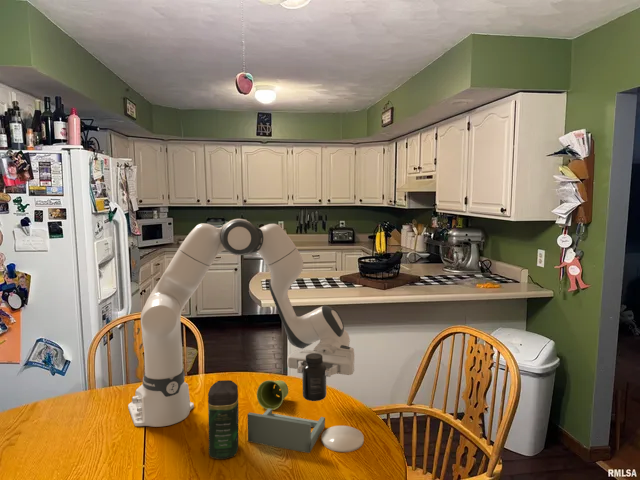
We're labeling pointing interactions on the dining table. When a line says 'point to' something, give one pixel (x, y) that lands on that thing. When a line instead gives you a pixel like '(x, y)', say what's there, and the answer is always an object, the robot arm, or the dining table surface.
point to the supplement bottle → (314, 378)
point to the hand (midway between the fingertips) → (313, 372)
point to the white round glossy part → (342, 438)
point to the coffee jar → (223, 419)
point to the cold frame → (284, 431)
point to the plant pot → (271, 394)
